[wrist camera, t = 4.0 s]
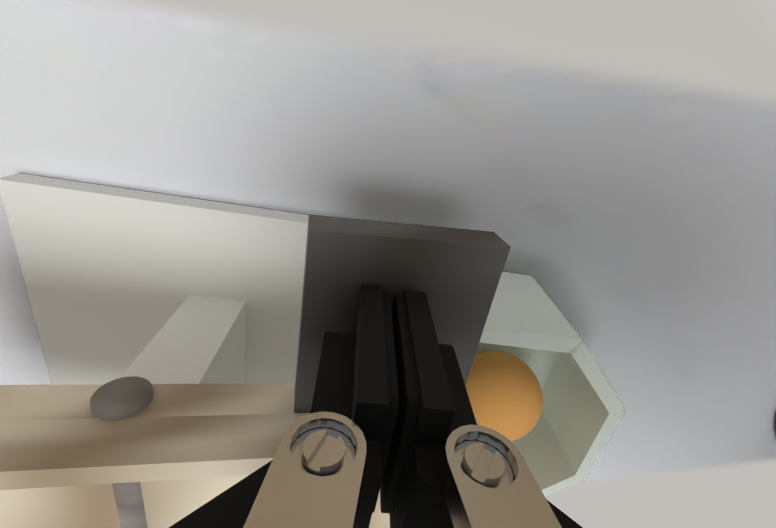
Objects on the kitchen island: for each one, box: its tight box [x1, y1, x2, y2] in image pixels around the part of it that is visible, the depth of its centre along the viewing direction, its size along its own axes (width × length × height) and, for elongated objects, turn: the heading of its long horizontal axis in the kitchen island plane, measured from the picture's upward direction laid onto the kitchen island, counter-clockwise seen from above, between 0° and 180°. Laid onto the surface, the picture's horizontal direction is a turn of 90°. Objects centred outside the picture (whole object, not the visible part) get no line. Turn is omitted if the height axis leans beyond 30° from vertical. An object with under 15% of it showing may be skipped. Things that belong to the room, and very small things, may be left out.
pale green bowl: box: [475, 272, 625, 498], centre depth 18 cm, size 10×10×5 cm
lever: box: [0, 215, 510, 528], centre depth 10 cm, size 20×13×3 cm, turn 81°
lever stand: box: [0, 173, 309, 385], centre depth 16 cm, size 16×13×7 cm
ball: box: [465, 351, 543, 441], centre depth 18 cm, size 4×4×4 cm
